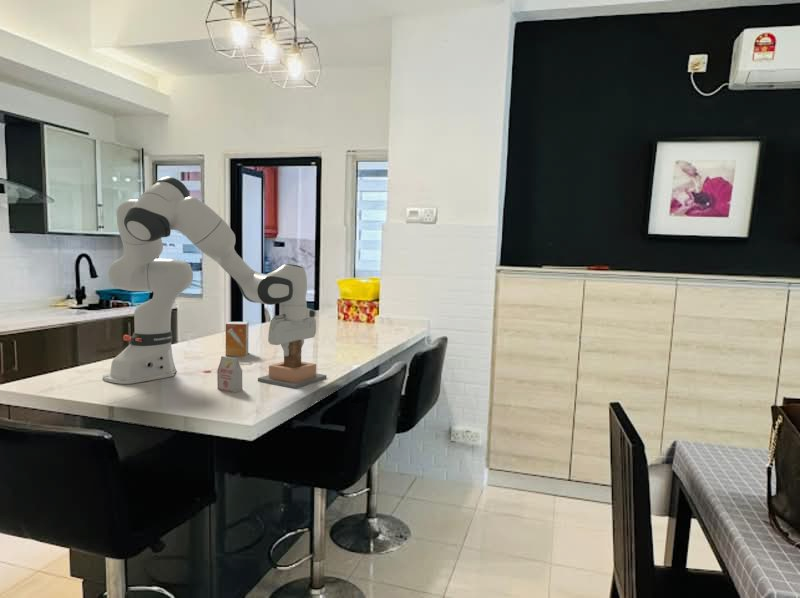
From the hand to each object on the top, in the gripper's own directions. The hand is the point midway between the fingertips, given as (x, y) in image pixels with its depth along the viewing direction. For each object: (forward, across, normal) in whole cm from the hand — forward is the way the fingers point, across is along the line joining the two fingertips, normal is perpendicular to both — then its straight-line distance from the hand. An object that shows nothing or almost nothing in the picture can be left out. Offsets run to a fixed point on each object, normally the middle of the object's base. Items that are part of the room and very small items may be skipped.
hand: (292, 354), depth 174 cm
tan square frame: (+9, 0, 0) cm, 9 cm away
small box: (+9, +18, +44) cm, 49 cm away
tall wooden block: (+4, 0, 0) cm, 4 cm away
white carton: (+9, -20, +8) cm, 23 cm away
